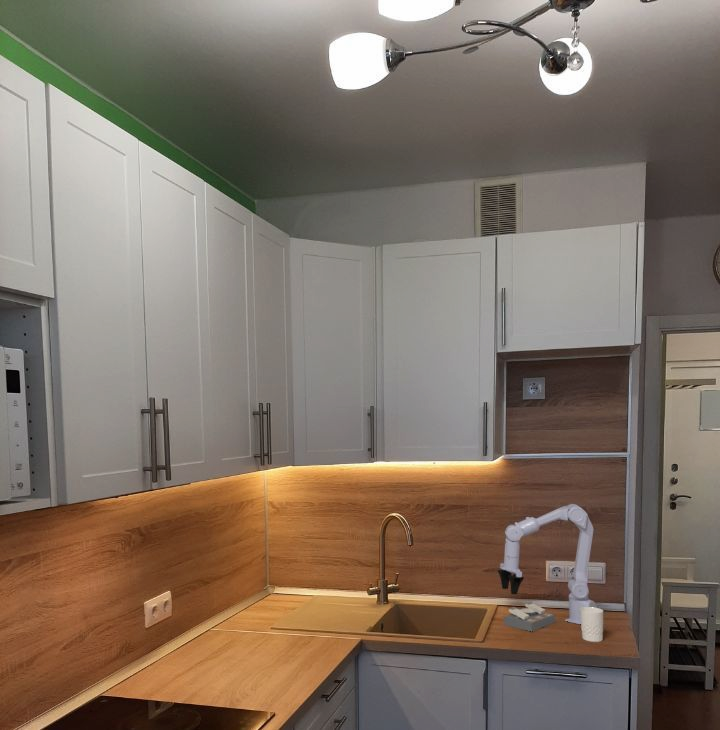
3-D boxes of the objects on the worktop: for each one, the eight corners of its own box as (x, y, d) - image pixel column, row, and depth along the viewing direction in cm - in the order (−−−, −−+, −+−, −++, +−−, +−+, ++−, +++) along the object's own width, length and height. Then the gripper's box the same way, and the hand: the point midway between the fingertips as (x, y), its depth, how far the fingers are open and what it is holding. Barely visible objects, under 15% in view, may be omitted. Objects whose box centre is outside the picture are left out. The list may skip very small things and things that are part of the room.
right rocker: (545, 612, 251) (546, 609, 251) (540, 614, 248) (540, 611, 248) (530, 604, 256) (530, 601, 256) (524, 606, 253) (525, 603, 253)
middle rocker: (537, 610, 247) (537, 607, 248) (532, 612, 245) (531, 608, 245) (522, 611, 252) (521, 608, 252) (517, 613, 249) (516, 609, 250)
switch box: (555, 623, 248) (554, 613, 249) (531, 632, 237) (531, 621, 238) (528, 616, 257) (527, 606, 257) (504, 624, 246) (503, 614, 247)
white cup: (576, 639, 230) (575, 609, 231) (587, 634, 235) (586, 605, 236) (598, 644, 224) (596, 614, 225) (608, 639, 229) (607, 609, 230)
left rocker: (529, 618, 243) (530, 614, 243) (523, 620, 241) (524, 616, 241) (513, 609, 249) (514, 606, 249) (508, 611, 246) (508, 608, 246)
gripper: (494, 551, 263) (492, 586, 262) (511, 560, 249) (508, 596, 247) (510, 552, 264) (508, 586, 263) (527, 560, 250) (525, 596, 249)
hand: (509, 591), depth 255 cm, fingers open, 7 cm apart
